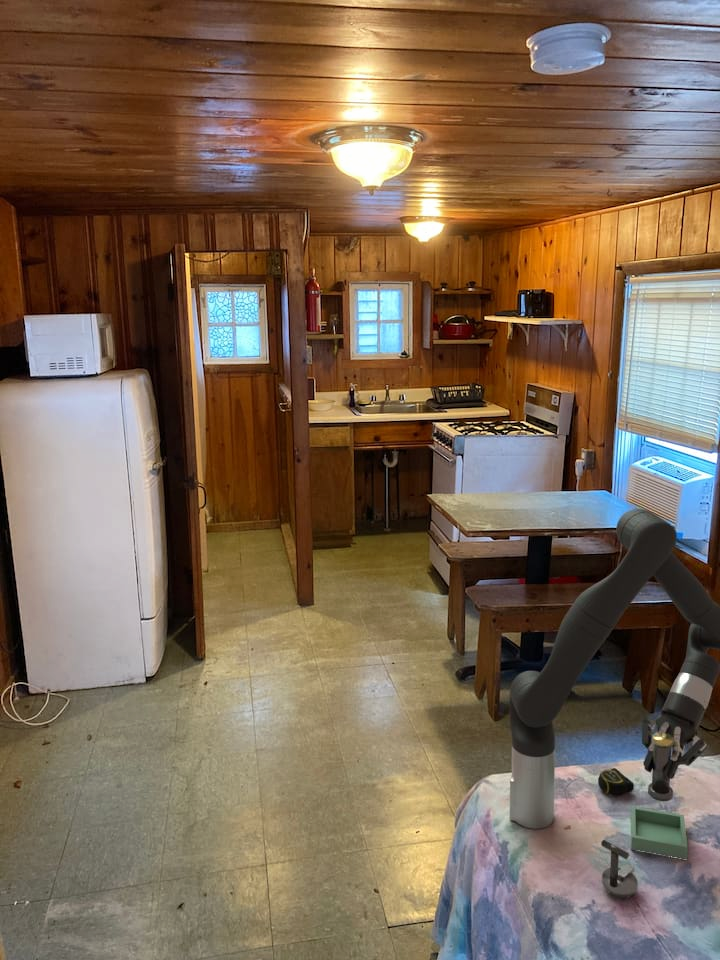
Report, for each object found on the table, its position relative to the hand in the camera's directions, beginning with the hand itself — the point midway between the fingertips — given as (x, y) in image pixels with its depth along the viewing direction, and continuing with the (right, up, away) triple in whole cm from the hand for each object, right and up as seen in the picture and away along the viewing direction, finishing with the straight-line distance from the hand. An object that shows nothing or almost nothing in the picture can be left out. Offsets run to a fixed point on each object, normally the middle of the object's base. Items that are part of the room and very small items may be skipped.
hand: (656, 774), depth 152 cm
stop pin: (+2, -5, +2) cm, 6 cm away
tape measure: (-1, -12, +22) cm, 25 cm away
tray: (+2, -15, +4) cm, 16 cm away
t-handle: (-11, -19, -10) cm, 24 cm away
